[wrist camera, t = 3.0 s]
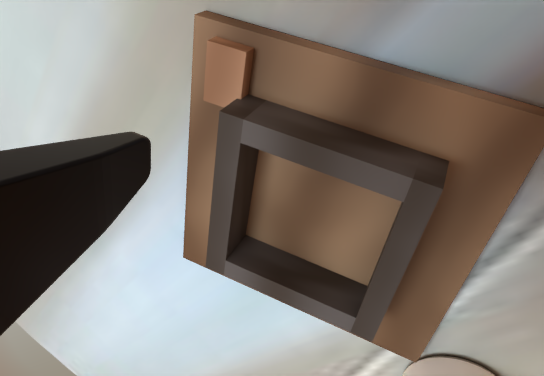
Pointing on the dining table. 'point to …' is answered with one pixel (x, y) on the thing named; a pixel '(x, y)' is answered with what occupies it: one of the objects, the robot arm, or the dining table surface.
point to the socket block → (345, 178)
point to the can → (446, 367)
